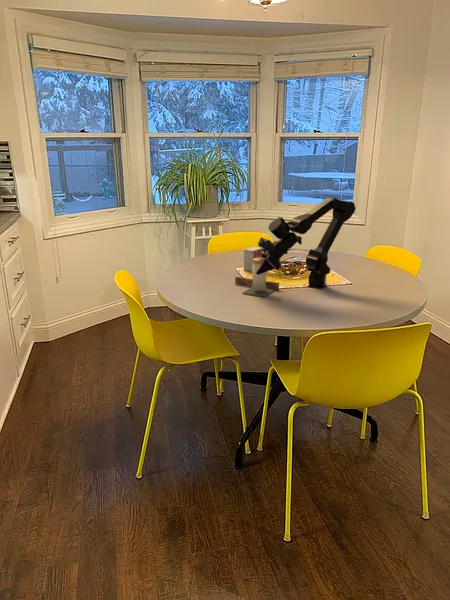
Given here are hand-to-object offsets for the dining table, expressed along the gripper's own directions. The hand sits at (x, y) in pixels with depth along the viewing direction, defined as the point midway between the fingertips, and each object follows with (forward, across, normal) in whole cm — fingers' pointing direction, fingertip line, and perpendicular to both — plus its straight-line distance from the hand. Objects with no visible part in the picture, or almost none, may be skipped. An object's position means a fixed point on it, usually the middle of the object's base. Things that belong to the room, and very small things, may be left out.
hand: (256, 271), depth 186 cm
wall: (+5, -8, +7) cm, 12 cm away
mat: (+5, 0, +7) cm, 9 cm away
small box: (+5, -36, +8) cm, 37 cm away
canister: (+4, 0, +6) cm, 7 cm away
